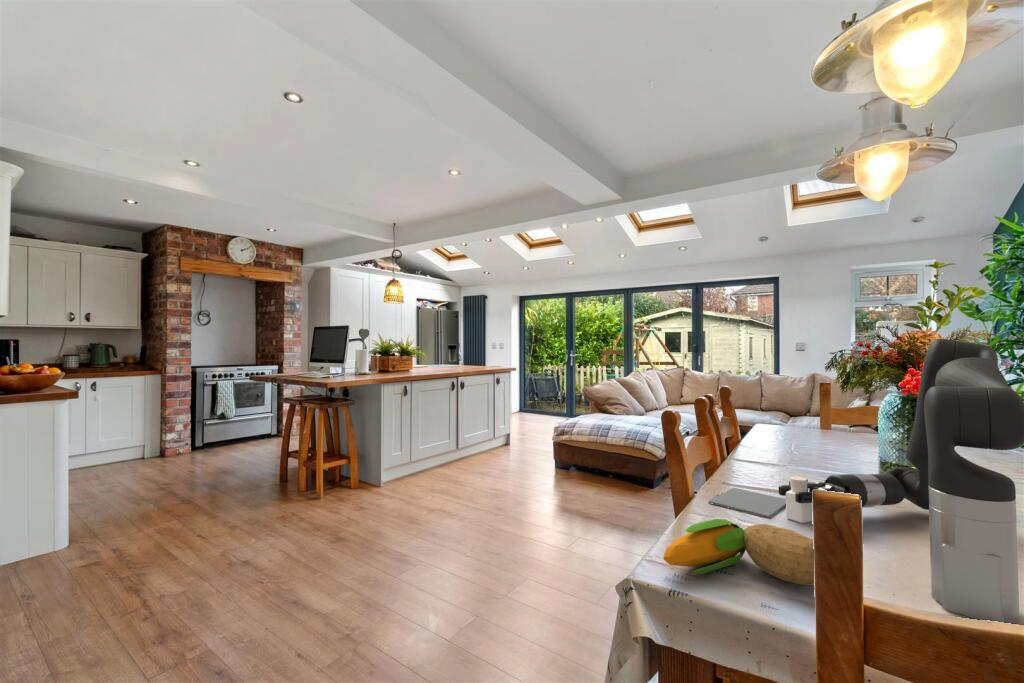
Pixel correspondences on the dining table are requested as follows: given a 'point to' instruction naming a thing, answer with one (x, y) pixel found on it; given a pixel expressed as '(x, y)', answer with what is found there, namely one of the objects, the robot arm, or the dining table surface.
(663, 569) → the dining table surface
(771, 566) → the potato
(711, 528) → the corn
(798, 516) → the pepper shaker
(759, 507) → the slate mat
